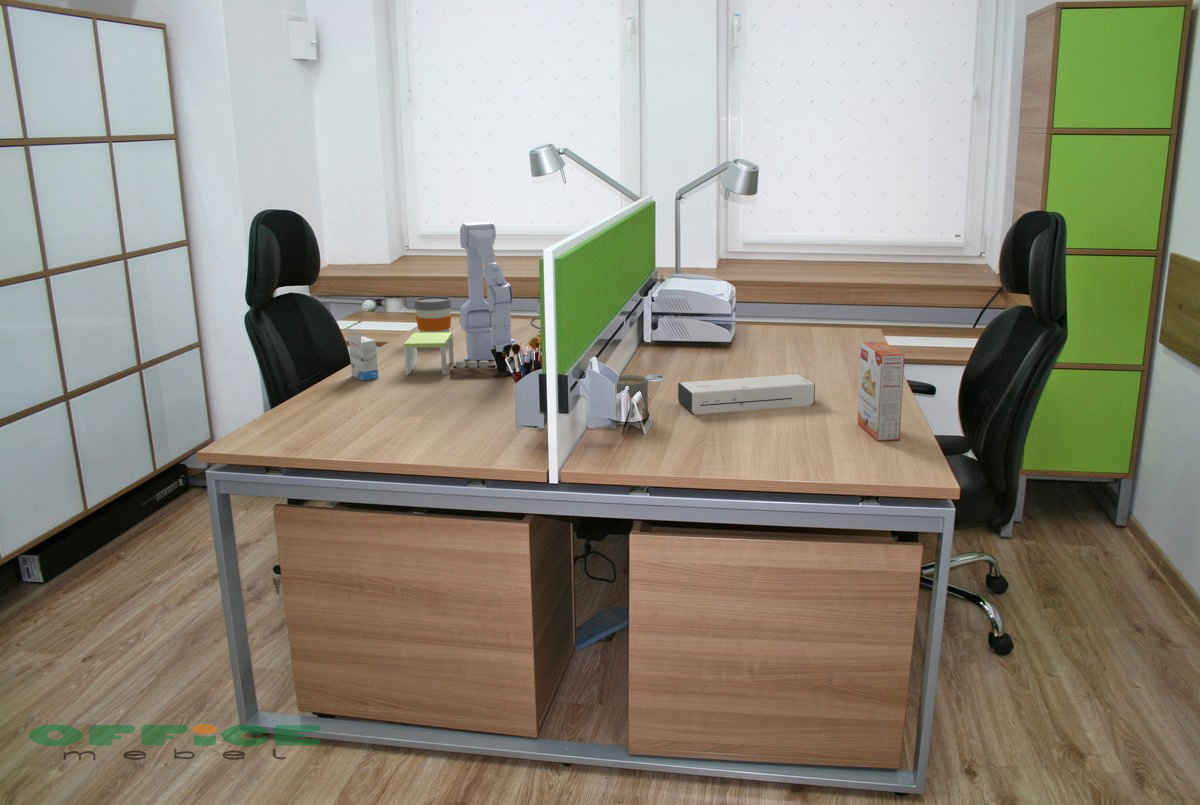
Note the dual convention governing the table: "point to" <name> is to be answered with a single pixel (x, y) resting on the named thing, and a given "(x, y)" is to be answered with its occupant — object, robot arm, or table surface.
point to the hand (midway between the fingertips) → (502, 370)
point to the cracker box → (881, 390)
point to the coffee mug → (634, 386)
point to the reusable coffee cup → (433, 314)
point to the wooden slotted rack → (473, 369)
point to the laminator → (746, 394)
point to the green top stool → (428, 341)
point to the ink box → (362, 356)
